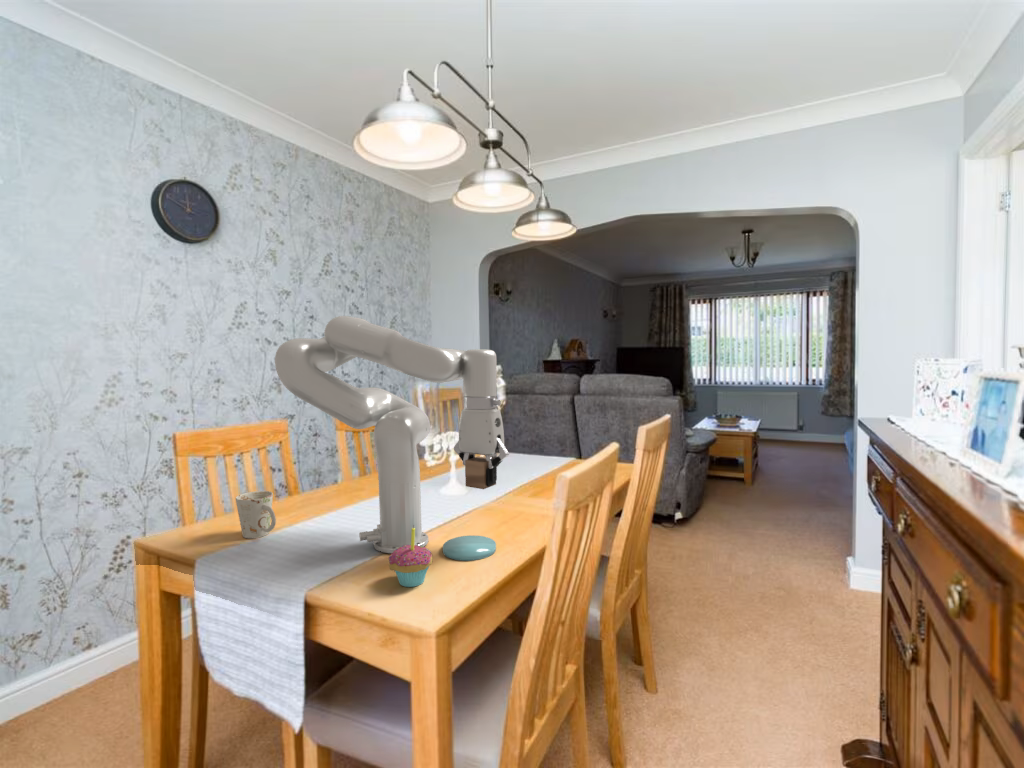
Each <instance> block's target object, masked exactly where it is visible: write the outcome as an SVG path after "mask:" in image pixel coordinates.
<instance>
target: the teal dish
mask: <svg viewBox="0 0 1024 768" xmlns="http://www.w3.org/2000/svg"><path fill="white" fill-rule="evenodd" d="M442 545H443V546H442V553H443V555H444V556H445V557H446V558H447V559H451V560H455V561H463V562H466V561H471V562H472V561H478V560H482V559H486V558H488V557H491V556H492V555H494V554H495V553H496V551H497V542H496V541H495V540H494V539H493V538H490V537H486V536H483V535H462V536H457V537H453V538H450V539H448V540H447V541H445V542H444V543H443V544H442Z"/></svg>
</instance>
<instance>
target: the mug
mask: <svg viewBox="0 0 1024 768" xmlns="http://www.w3.org/2000/svg"><path fill="white" fill-rule="evenodd" d="M273 498H274V493H273V492H272V491H270V490H268V491H267V490H257V491H249V492H245V493H241V494H239V495H237V496H236V497H235V503H236V504H235V505H236V508H237V514H238V519H239V525H240V527H241V533H242V535H241V536H242V538H245V539H258V538H262V537H265V536H267V535H269V534H270V532H271V531H272V530H274V528H275V527H276V523H277V521H276V520H277V518H276V515H275V511H274V509H273Z"/></svg>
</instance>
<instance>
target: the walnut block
mask: <svg viewBox="0 0 1024 768" xmlns="http://www.w3.org/2000/svg"><path fill="white" fill-rule="evenodd" d="M487 468H488V465H487V460H486V456H475V458H471V459H468V460H465V465H464V469H465V470H464V474H466V477H465V487H466V488H467V487H468V488H474V489H480V490H486V489H488V488H490V487H493V486H496V485H497V483H496V484H494V485H491V486H486V469H487Z"/></svg>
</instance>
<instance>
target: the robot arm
mask: <svg viewBox="0 0 1024 768" xmlns="http://www.w3.org/2000/svg"><path fill="white" fill-rule="evenodd" d="M323 333H324V336H322V337H321V338H304V337H303V338H300V337H299V338H292V339H289V340H286V341H285V342H283V343H282V344H281V345H280V346H279V347H278V348H277V350H276V352H275V355H274V356H275V357H274V365H275V366H274V367H275V370H276V374H277V377H278V378H279V380H280V382H281V383H282V385H283V386H284V387H285V388H286V389H287V390H288V391H289V392H290V393H291V394H293V395H294V396H296V397H297V398H299V399H300V400H302V401H304V402H306V403H308V404H309V405H311V406H313V407H315V408H317V409H318V410H320V411H322V412H323V413H325V414H326V415H329V416H330V417H333V418H334V419H336V420H337V421H340V422H341V423H343V424H345V425H347V426H348V427H350V428H352V429H356V430H364V429H367V428H368V429H369V428H370V427H374V430H373V441H374V442H373V443H374V447H375V454H376V460H377V473H378V478H377V479H378V496H379V497H378V501H379V503H378V505H379V506H378V507H379V524H377V525H376V528H373V529H372V530H370V531H361V532H360V531H359V533H358V535H359V536H358V537H359V542H361V541H366V543H371V542H373V547H374V549H375V550H376V551H379V552H380V551H381V553H387V554H392V552H394V551H395V550H396V549H398V548H400V547H401V546H404V545H411V531H412V528H413V525H414V528H415V542H414V545H419V546H423V547H425V546H427V545H428V544H429V535H428V534H427V533H426V532H424V531H422V528H423V527H422V500H421V499H422V496H421V491H422V490H421V471H420V467H421V466H420V459H419V454H418V449H417V445H418V444H419V443H421V442H422V441H424V440H425V439H426V438H427V437H428V435H429V433H430V430H431V421H430V419H429V416H428V415H427V414H426V412H425V411H424V410H423V409H421V408H420V407H418V406H416V405H415V404H413V403H411V402H409V401H406V400H405V399H403V398H401V397H399V395H396V394H394V393H392V392H390V391H388V390H385V389H383V388H379V387H363V388H362V387H361V388H360V387H357V386H354V385H352V384H350V383H348V382H346V381H344V380H343V379H340V378H339V377H337V376H335V375H333V374H331V373H328V372H329V371H332V370H334V369H336V368H338V367H340V366H342V365H344V364H346V363H347V362H349V361H352V360H354V359H355V358H360V359H363V360H366V361H369V362H373V363H376V364H380V365H382V366H385V367H386V368H389V369H392V370H394V371H397V372H400V373H402V374H405V375H407V376H411V377H414V378H418V379H420V380H424V381H428V382H431V383H437V384H443V383H448V382H454V381H459V380H460V381H461V380H463V381H462V383H463V384H462V385H463V387H462V389H463V395H462V396H463V409H461V412H460V418H459V426H458V427H459V428H458V441H457V442H456V444H455V445H454V447H453V450H454V452H455V453H456V454H457V455H458V457H459V458H460V460H461V461H462V464H463V466H465V460H468V459H471V458H475V457H476V455H480V456H484V457H486V460H487V465H488V468H487V469H486V486H491V485H493V486H495V485H494V484H496V485H497V480H498V478H497V477H498V476H497V475H498V473H497V470H498V469H497V467H499V466H500V464H501V463H502V462H503V461H504V460H505V459H506V458H508V457H509V455H510V453H509V451H508V449H507V448H506V446H505V434H504V433H505V431H504V422H503V417H502V413H501V410H500V409H497V408H498V407H500V406H501V404H502V402H501V400H500V399H498V395H497V393H498V392H497V391H498V389H497V388H498V387H497V384H498V383H497V382H498V381H497V377H498V375H497V371H498V370H497V367H498V366H497V365H498V364H497V362H498V361H497V354H496V352H495V350H492V349H487V348H486V349H484V348H483V349H482V348H481V349H478V348H476V349H468V350H464V349H463V350H462V349H455V348H444V347H443V348H441V347H437V346H436V347H435V346H432V345H428V344H425V343H422V342H419V341H416V340H413V339H410V338H407V337H405V336H403V335H402V334H401V333H400V331H398V330H396V329H393V328H388V327H385V326H382V325H378V324H375V323H371V322H369V321H368V320H367V319H364V318H362V317H355V316H347V315H340V316H336V317H334V318H331V319H330V320H329V321H328V322H327V324H326V326H325V328H324V332H323ZM497 454H498V455H497ZM464 474H465V473H464ZM464 476H465V477H464V478H466V474H465V475H464ZM491 487H492V486H491Z"/></svg>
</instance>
